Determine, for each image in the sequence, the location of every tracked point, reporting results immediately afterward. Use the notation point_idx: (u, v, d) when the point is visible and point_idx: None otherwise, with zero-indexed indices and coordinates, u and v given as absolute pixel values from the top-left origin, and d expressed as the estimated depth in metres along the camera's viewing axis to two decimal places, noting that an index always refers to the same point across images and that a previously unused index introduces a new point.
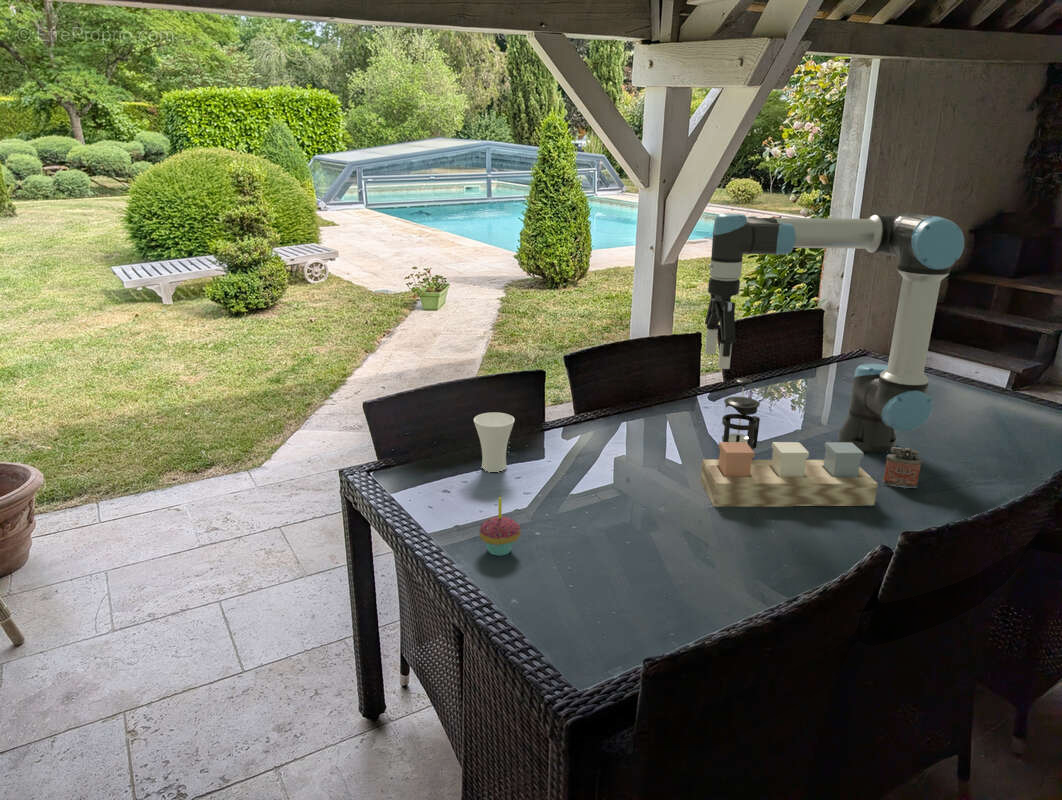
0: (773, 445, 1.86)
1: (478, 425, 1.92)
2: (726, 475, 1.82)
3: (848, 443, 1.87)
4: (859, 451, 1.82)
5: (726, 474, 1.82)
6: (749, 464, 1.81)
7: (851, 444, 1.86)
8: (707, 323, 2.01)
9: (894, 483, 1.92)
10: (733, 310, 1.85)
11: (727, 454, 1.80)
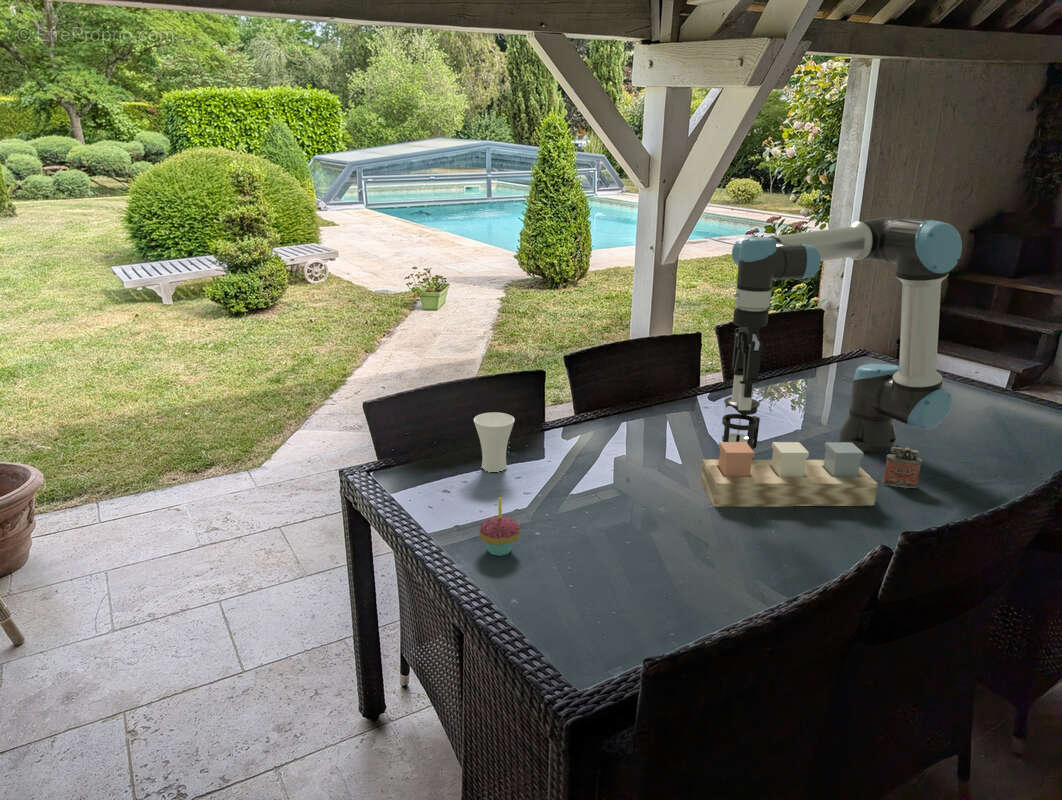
0: (773, 445, 1.86)
1: (478, 425, 1.92)
2: (726, 475, 1.82)
3: (848, 443, 1.87)
4: (859, 451, 1.82)
5: (726, 474, 1.82)
6: (749, 464, 1.81)
7: (851, 444, 1.86)
8: (734, 368, 1.81)
9: (894, 483, 1.92)
10: (760, 350, 1.69)
11: (727, 454, 1.80)
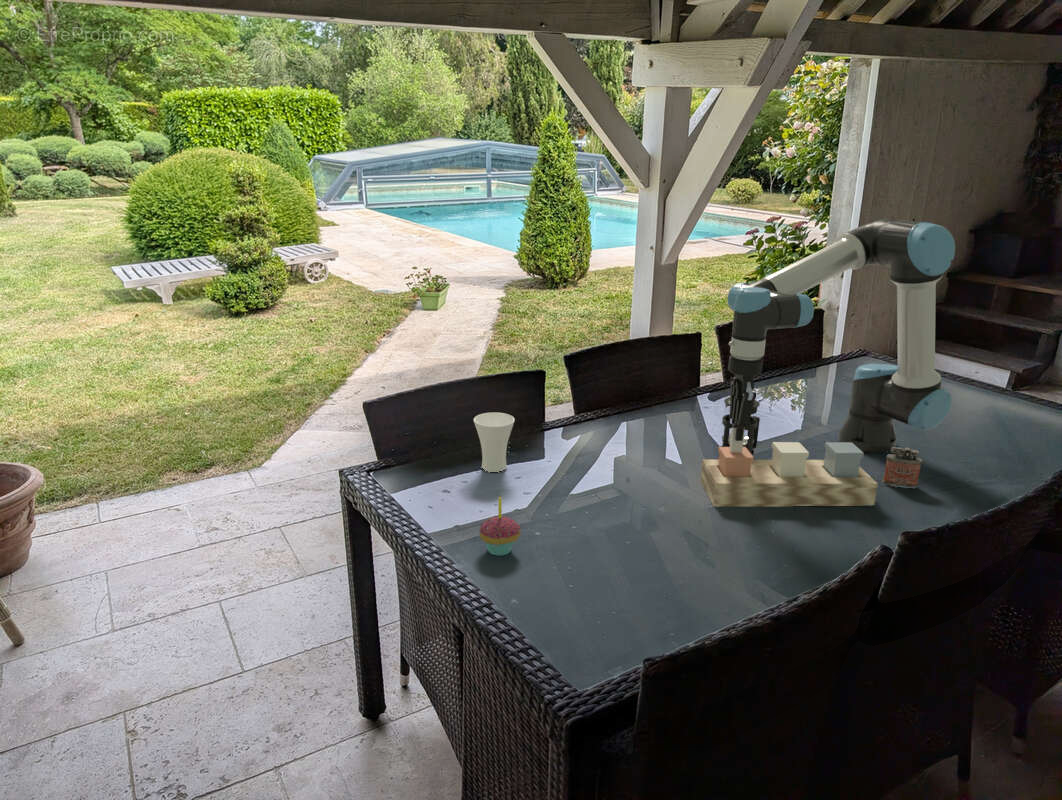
0: (773, 445, 1.86)
1: (478, 425, 1.92)
2: None
3: (848, 443, 1.87)
4: (859, 451, 1.82)
5: None
6: (748, 469, 1.82)
7: (851, 444, 1.86)
8: (731, 418, 1.83)
9: (894, 483, 1.92)
10: (753, 400, 1.74)
11: (726, 459, 1.81)
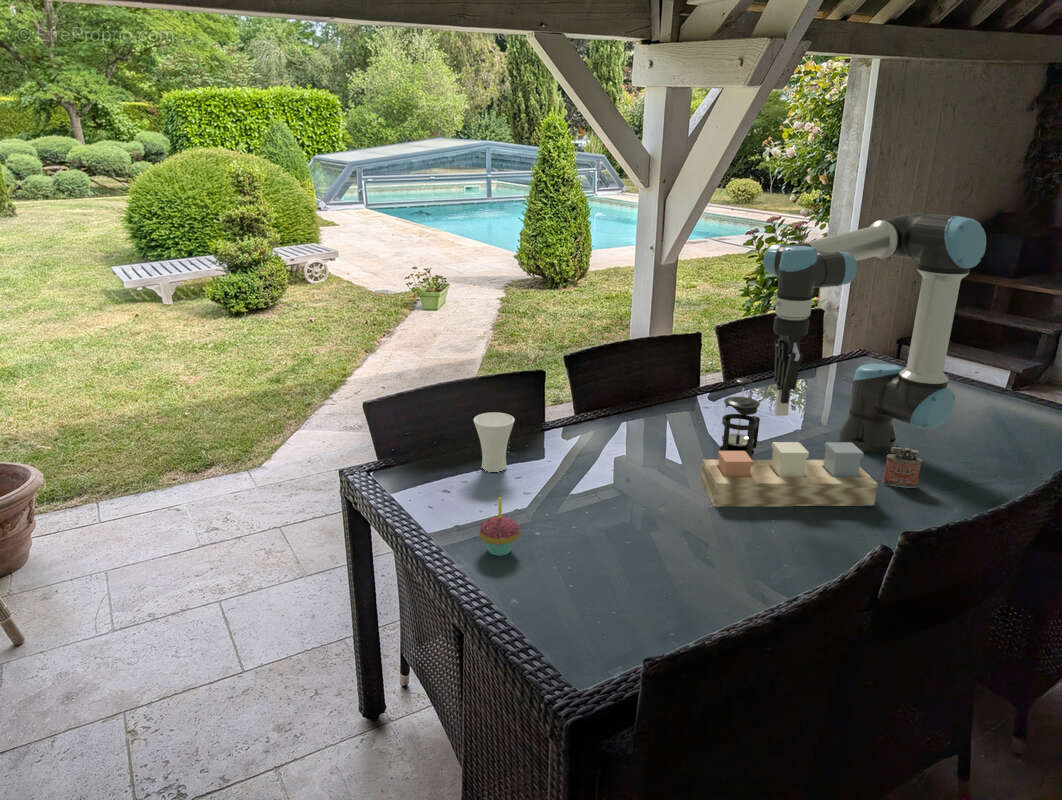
0: (773, 445, 1.86)
1: (478, 425, 1.92)
2: None
3: (848, 443, 1.87)
4: (859, 451, 1.82)
5: None
6: (748, 473, 1.82)
7: (851, 444, 1.86)
8: (777, 380, 1.80)
9: (894, 483, 1.92)
10: (800, 361, 1.71)
11: (726, 463, 1.81)
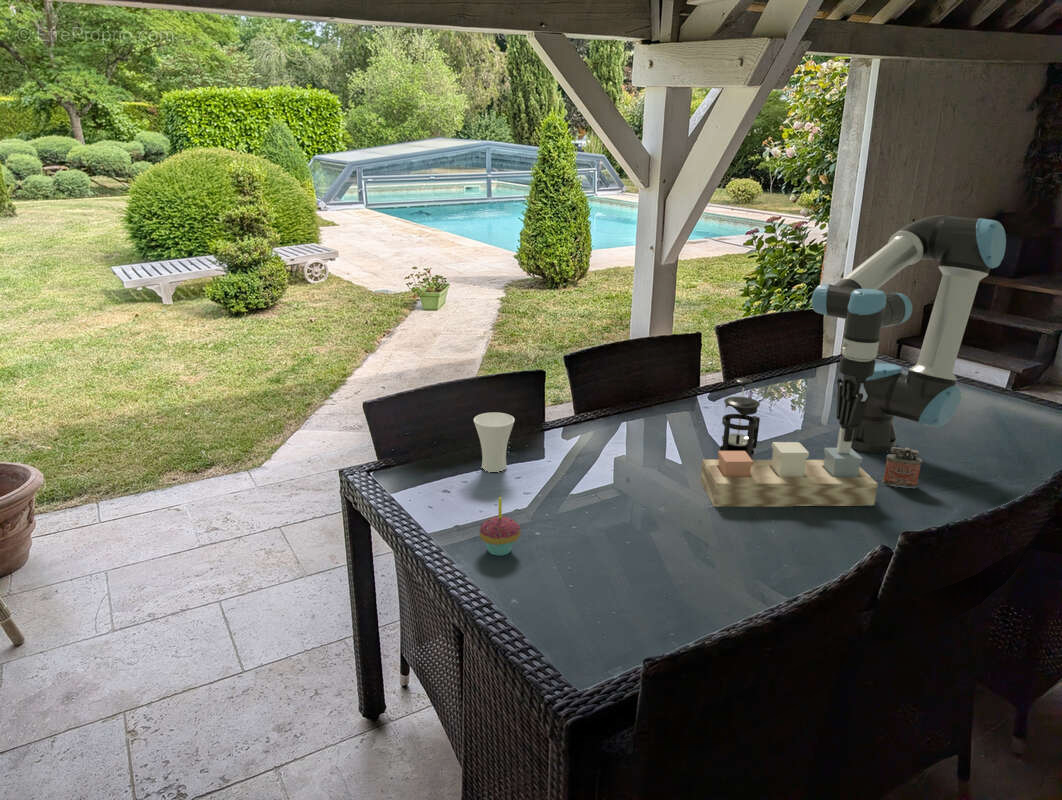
0: (773, 445, 1.86)
1: (478, 425, 1.92)
2: None
3: None
4: (858, 457, 1.82)
5: None
6: (748, 473, 1.82)
7: None
8: (839, 419, 1.83)
9: (894, 483, 1.92)
10: (866, 401, 1.74)
11: (726, 463, 1.81)
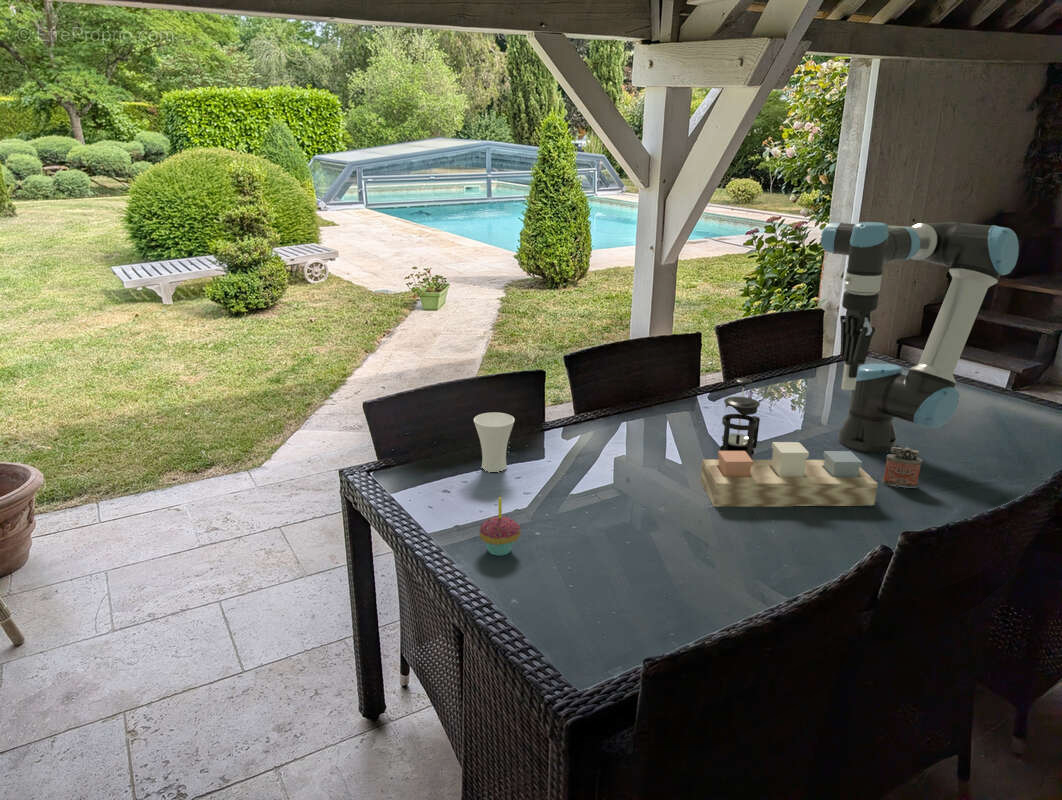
0: (773, 445, 1.86)
1: (478, 425, 1.92)
2: None
3: (846, 451, 1.88)
4: (858, 460, 1.83)
5: None
6: (748, 473, 1.82)
7: (850, 453, 1.87)
8: (844, 355, 1.83)
9: (894, 483, 1.92)
10: (871, 335, 1.74)
11: (726, 463, 1.81)
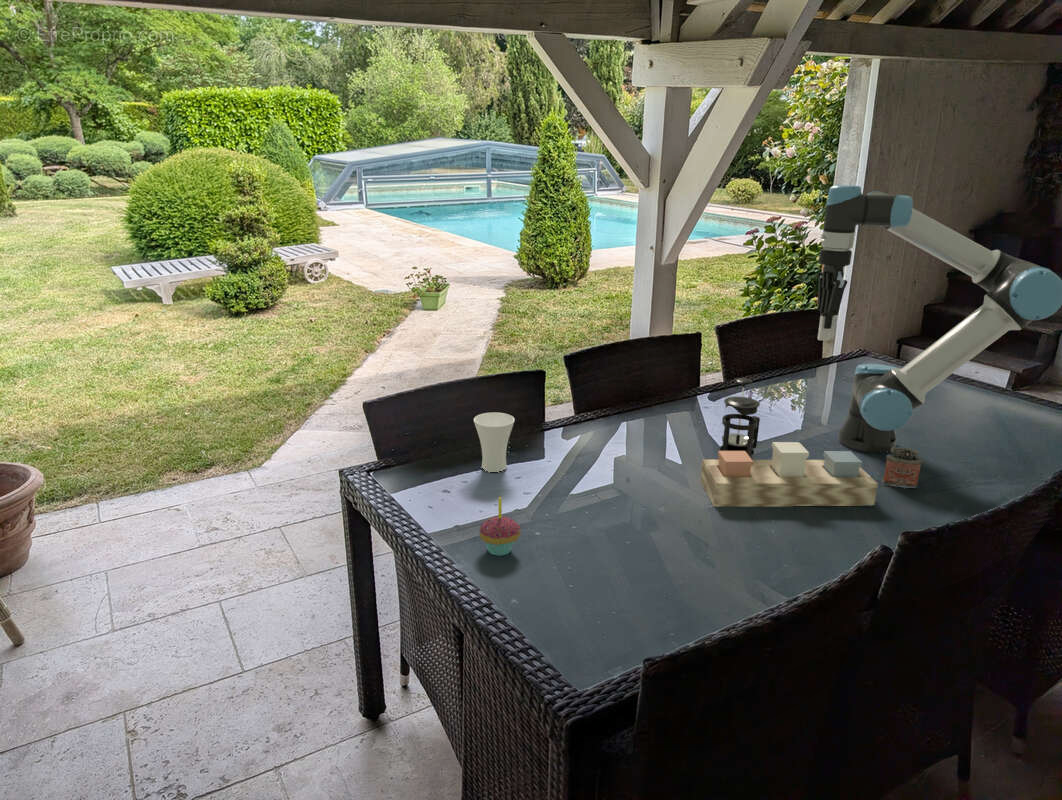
0: (773, 445, 1.86)
1: (478, 425, 1.92)
2: None
3: (846, 451, 1.88)
4: (858, 460, 1.83)
5: None
6: (748, 473, 1.82)
7: (850, 453, 1.87)
8: (820, 308, 2.00)
9: (894, 483, 1.92)
10: (843, 288, 1.91)
11: (726, 463, 1.81)
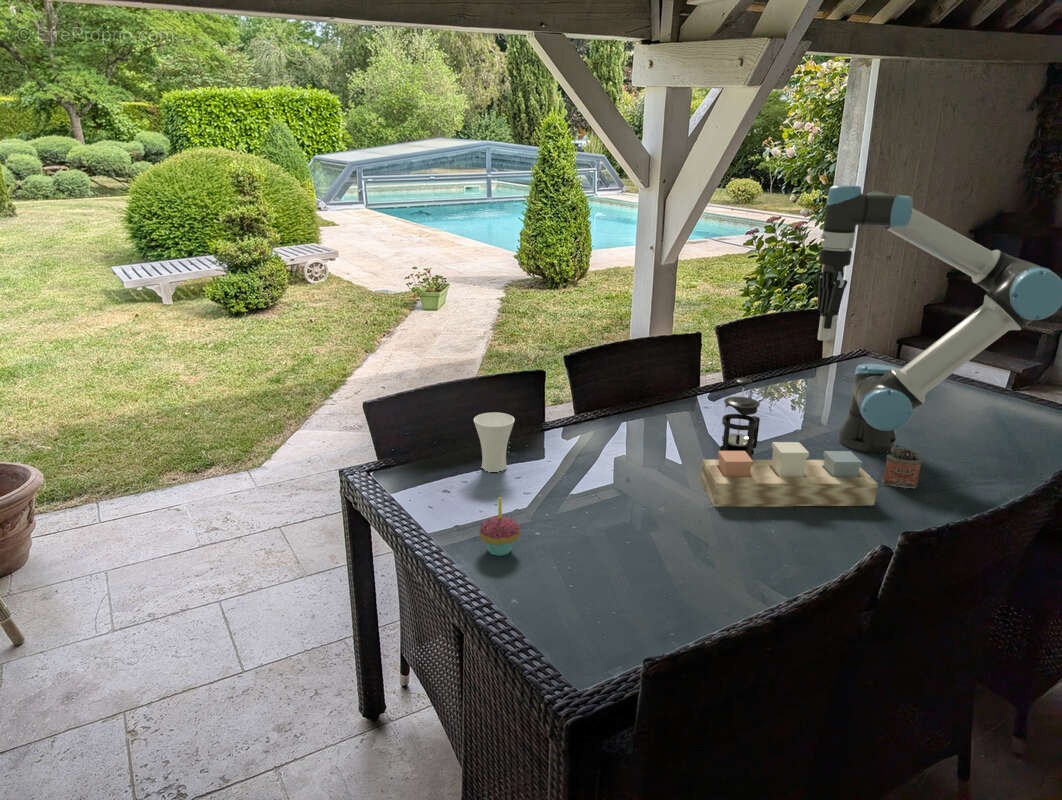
0: (773, 445, 1.86)
1: (478, 425, 1.92)
2: None
3: (846, 451, 1.88)
4: (858, 460, 1.83)
5: None
6: (748, 473, 1.82)
7: (850, 453, 1.87)
8: (820, 308, 2.00)
9: (894, 483, 1.92)
10: (843, 288, 1.91)
11: (726, 463, 1.81)
